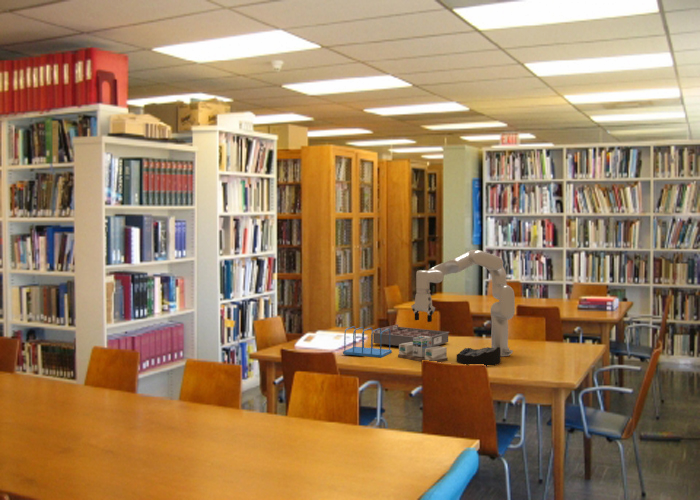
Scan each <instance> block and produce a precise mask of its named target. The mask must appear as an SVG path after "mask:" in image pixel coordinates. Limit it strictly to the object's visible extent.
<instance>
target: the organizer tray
mask: <svg viewBox="0 0 700 500" xmlns="http://www.w3.org/2000/svg"><path fill="white" fill-rule="evenodd" d="M387 329H390V346H395V347H396V346H398V347H399V344H403V343H409V342H413V338H414V337H419V336H429V337H432V347H437V346H441V345H443V344H446V343H449V333H450V331H444V330H434V329H424V328H416V327H415V328H413V327H404V326H399V324H398V323H397V324H394V325H389V326H385V327H381V332H382V331H384V330H387ZM375 330H376V329H375ZM373 344H379V345H380V329H379V330H376V331H374V332H373ZM381 345H388V346H389V330H387V331H385V332H383V333H382V335H381Z"/></svg>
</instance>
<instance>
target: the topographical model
mask: <svg viewBox="0 0 700 500" xmlns="http://www.w3.org/2000/svg"><path fill="white" fill-rule="evenodd" d="M501 357H502V356H501V349H500V347H496V348H491V347H481V348H479V349H474V348H471V347H464V348H463V349H462V350H461V351H460V352H459V353H456V363H458V364H462V365H465V364H484V365H486V366H485V367H488V366H487V365H494V366H496V365H495V364H498V365H500V364H501V363H500V362H501V359H502V358H501ZM499 363H500V364H499Z"/></svg>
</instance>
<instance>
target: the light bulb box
mask: <svg viewBox="0 0 700 500" xmlns="http://www.w3.org/2000/svg"><path fill="white" fill-rule="evenodd" d="M426 348H432V337H429V336H419V337H414V338H413V356H417V357H425V349H426Z"/></svg>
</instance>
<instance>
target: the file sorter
mask: <svg viewBox="0 0 700 500" xmlns="http://www.w3.org/2000/svg"><path fill="white" fill-rule="evenodd" d="M352 328H353V329H354V330H353V333H352V335H353V336H352V338H353V339H352V344H353V345H352V347H351V348H348V349H346V332H347V330H349V329H350V330H351V329H352ZM381 328H382V327H381ZM381 328H380V327H378V328H376V329H374V330H373V327H368V328H366V329H365V327H364V326H360V327H358V328H356V326H355V325H354V326H351V327H347V328H345V330H344V341H343V343H344V349H343V351H342V354H343V355H345V356H346V355H347V356H348V355H351V356H358V357H359V356H361V357H362V356H363V357H371V358H373V357H374V358H384V357H386V356H387V355H389V354H391V353H393V352H392V349H391V345H390V329H387V330H389V345H388V346H389V347H388V349H384V348H382V344H381V335H382V333H383V332H385V331H387V330H384V331H382V332H381ZM360 329H362V332H361V346H357V345H356V340H357V339H356V338H357V337H356V332H357V330H360ZM379 329H380V344H379V348H375V347H374V345H373V344H374V343H373V332H375V331H376V330H379ZM368 330H371V334H370V347H365V332H366V331H368Z"/></svg>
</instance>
